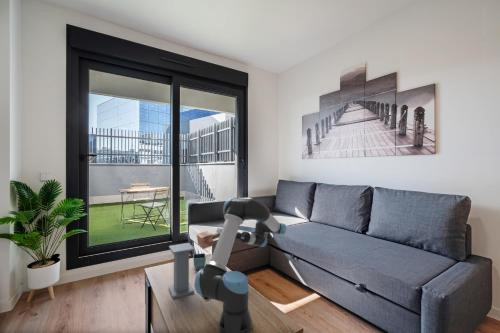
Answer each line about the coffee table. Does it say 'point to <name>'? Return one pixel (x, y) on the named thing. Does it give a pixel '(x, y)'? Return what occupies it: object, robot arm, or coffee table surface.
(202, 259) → the flower pot
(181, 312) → the coffee table surface
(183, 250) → the plinth
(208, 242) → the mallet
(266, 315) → the coffee table surface
